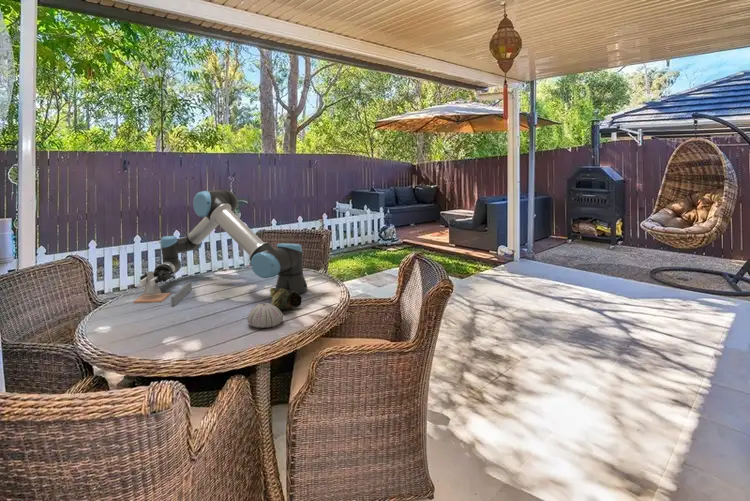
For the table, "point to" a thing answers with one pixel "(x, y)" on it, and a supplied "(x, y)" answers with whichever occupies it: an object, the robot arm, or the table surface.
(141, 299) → the terracotta tile
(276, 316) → the sea urchin shell
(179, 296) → the low wall
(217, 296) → the table surface
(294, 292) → the seashell
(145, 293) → the flask
